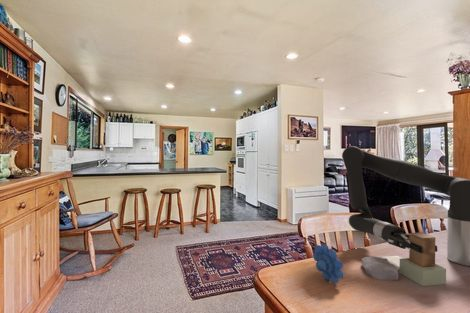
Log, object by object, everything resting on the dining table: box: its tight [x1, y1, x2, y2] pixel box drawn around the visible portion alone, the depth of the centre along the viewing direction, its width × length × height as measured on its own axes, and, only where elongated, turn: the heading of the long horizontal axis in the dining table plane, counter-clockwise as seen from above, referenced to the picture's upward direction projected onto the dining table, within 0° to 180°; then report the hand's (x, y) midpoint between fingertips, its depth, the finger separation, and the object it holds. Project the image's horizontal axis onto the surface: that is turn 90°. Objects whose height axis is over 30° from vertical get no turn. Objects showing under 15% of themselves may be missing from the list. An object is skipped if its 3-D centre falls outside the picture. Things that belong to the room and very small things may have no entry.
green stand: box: [398, 257, 447, 287], centre depth 82 cm, size 9×9×5 cm
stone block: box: [361, 255, 399, 281], centre depth 87 cm, size 12×5×10 cm
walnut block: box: [408, 232, 436, 268], centre depth 82 cm, size 5×5×10 cm
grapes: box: [312, 243, 344, 284], centre depth 80 cm, size 12×7×12 cm, turn 33°
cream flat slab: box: [378, 255, 404, 271], centre depth 93 cm, size 10×9×1 cm
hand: (429, 249), depth 79 cm, fingers closed on walnut block, 5 cm apart
